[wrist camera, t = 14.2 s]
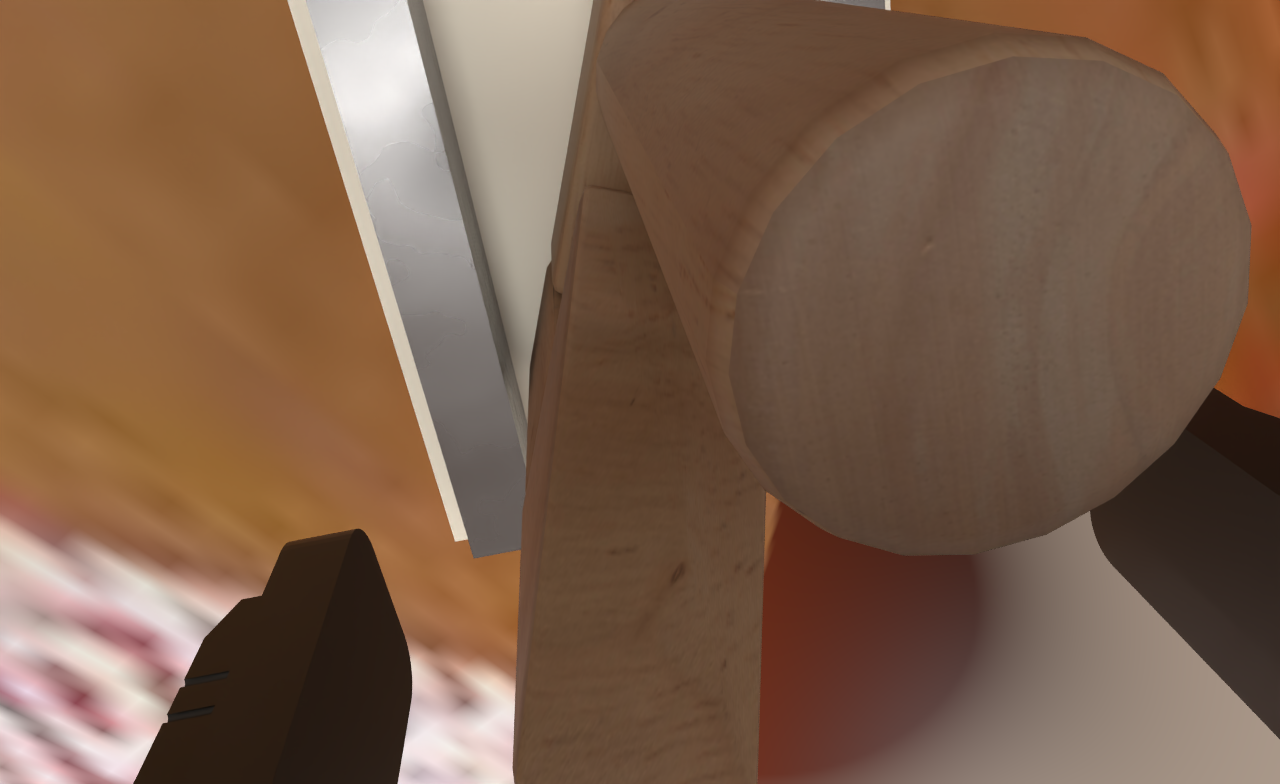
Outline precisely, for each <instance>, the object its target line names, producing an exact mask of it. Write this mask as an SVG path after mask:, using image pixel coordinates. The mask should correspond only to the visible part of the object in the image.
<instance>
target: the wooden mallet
mask: <svg viewBox="0 0 1280 784" xmlns="http://www.w3.org/2000/svg"><path fill="white" fill-rule="evenodd" d="M1250 244H1251V223H1250V220H1249V216H1248V213H1247V210H1246V207H1245V204H1244V201H1243V198H1242V195H1241V191H1240V188H1239V185H1238V182H1237V179H1236V176H1235V173H1234V170H1233V166H1232V163H1231V160H1230V157H1229V154H1228V152H1227V150H1226V149H1225V147H1224V146H1223V144H1222V143H1221V141H1220V140H1219V138H1218V137H1217V135H1216V134H1215V132H1214V131H1213V130H1212V129H1211V128H1210V127H1209V126H1208V124H1207V123H1206V122H1205V121H1204V120H1203V119H1202V118H1201V116H1200V115H1199V114H1198V113H1197V112H1196V111H1195V110H1194V108H1193V107H1192V106H1191V105H1190V104H1189V103H1188V102H1187V100H1186V99H1185V98H1184V97H1183V96H1182V95H1181V94H1180V92H1179V91H1178V90H1177V89H1176V88H1175V87H1174V85H1173V84H1172V83H1171V82H1170V81H1169V80H1168V79H1167V77H1166V76H1165V75H1164V74H1163V73H1161V72H1159V71H1157V70H1155V69H1152V68H1150V67H1148V66H1146V65H1144V64H1142V63H1140V62H1137V61H1135V60H1133V59H1131V58H1129V57H1127V56H1125V55H1122V54H1120V53H1118V52H1116V51H1114V50H1112V49H1110V48H1107V47H1105V46H1103V45H1101V44H1099V43H1097V42H1095V41H1092V40H1090V39H1088V38H1086V37H1079V36H1071V35H1064V34H1057V33H1050V32H1043V31H1035V30H1028V29H1021V28H1014V27H1007V26H999V25H992V24H985V23H978V22H971V21H963V20H956V19H949V18H942V17H935V16H927V15H920V14H913V13H906V12H899V11H891V10H884V9H877V8H870V7H863V6H855V5H848V4H841V3H834V2H827V1H820V0H593V5H592V10H591V16H590V22H589V28H588V33H587V39H586V45H585V51H584V56H583V62H582V68H581V74H580V79H579V85H578V91H577V97H576V102H575V108H574V114H573V120H572V125H571V131H570V137H569V143H568V148H567V154H566V160H565V166H564V171H563V177H562V183H561V189H560V194H559V200H558V206H557V212H556V218H555V223H554V229H553V235H552V241H551V262H550V263H549V265H548V266H547V269H546V275H545V281H544V286H543V292H542V298H541V304H540V309H539V315H538V321H537V327H536V332H535V338H534V344H533V350H532V355H531V361H530V369H529V398H528V427H527V455H526V484H525V492H526V494H525V500H524V505H523V511H522V535H521V561H520V588H519V614H518V640H517V667H516V693H515V719H514V746H513V775H514V783H515V784H757V776H758V744H759V710H760V676H761V643H762V609H763V575H764V541H765V508H766V491H767V492H768V493H770V494H771V495H773V496H774V497H776V498H777V499H778V500H780V501H781V502H783V503H784V504H786V505H787V506H789V507H790V508H792V509H793V510H795V511H796V512H798V513H799V514H800V515H802V516H803V517H805V518H806V519H808V520H809V521H811V522H812V523H814V524H815V525H816V526H818V527H820V528H821V529H823V530H825V531H827V532H829V533H831V534H833V535H835V536H837V537H840V538H843V539H847V540H851V541H854V542H858V543H861V544H865V545H868V546H872V547H875V548H879V549H883V550H886V551H890V552H893V553H897V554H900V555H965V554H978V553H981V552H985V551H989V550H992V549H996V548H1000V547H1003V546H1007V545H1010V544H1014V543H1017V542H1021V541H1025V540H1028V539H1032V538H1036V537H1039V536H1043V535H1047V534H1048V533H1050V532H1052V531H1054V530H1056V529H1057V528H1059V527H1061V526H1063V525H1065V524H1066V523H1068V522H1070V521H1072V520H1074V519H1076V518H1077V517H1079V516H1080V515H1083V514H1085V513H1087V512H1088V511H1090V510H1092V509H1094V508H1096V507H1098V506H1099V505H1101V504H1103V503H1105V502H1107V501H1108V500H1110V499H1112V498H1114V497H1115V496H1116V495H1118V494H1119V493H1120V492H1121V491H1122V490H1123V489H1124V488H1125V487H1126V486H1128V485H1129V484H1130V483H1131V482H1132V481H1133V480H1134V479H1135V478H1137V477H1138V476H1139V475H1140V474H1141V473H1142V472H1143V471H1144V470H1146V469H1147V468H1148V467H1149V466H1150V465H1151V464H1152V463H1153V462H1155V461H1156V460H1157V459H1158V458H1159V457H1160V456H1161V455H1162V454H1164V453H1165V452H1166V451H1167V450H1168V449H1169V448H1170V447H1171V446H1172V445H1174V444H1175V442H1176V441H1177V439H1178V438H1179V436H1180V435H1181V433H1182V432H1183V431H1184V429H1185V428H1186V426H1187V425H1188V423H1189V422H1190V421H1191V419H1192V418H1193V416H1194V415H1195V413H1196V412H1197V411H1198V409H1199V408H1200V406H1201V405H1202V403H1203V402H1204V401H1205V399H1206V398H1207V396H1208V395H1209V393H1210V392H1211V390H1212V389H1213V388H1214V386H1215V385H1216V383H1217V382H1218V380H1219V379H1220V377H1221V374H1222V372H1223V369H1224V366H1225V364H1226V361H1227V358H1228V355H1229V353H1230V350H1231V347H1232V344H1233V342H1234V339H1235V336H1236V333H1237V331H1238V328H1239V325H1240V323H1241V320H1242V317H1243V314H1244V312H1245V309H1246V306H1247V303H1248V285H1249V265H1250Z"/></svg>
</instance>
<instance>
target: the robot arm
mask: <svg viewBox="0 0 1280 784" xmlns="http://www.w3.org/2000/svg"><path fill="white" fill-rule="evenodd" d="M1090 513H1091V521H1092V526H1093V530H1094V533H1095V536H1096V539H1097V541H1098V544H1099V546H1100V548H1101V550H1102V551H1103V553H1104V555H1105V556H1106V558H1107V559H1108V560H1109V562H1110V563H1111V564H1112V565H1113V566H1114V567H1115V568H1116V569H1117V570H1118V572H1119V573H1121V575H1122V576H1123V577H1124V578H1125V579H1126V580H1127V581H1128V582H1129V583H1130V584H1131V585H1132V586H1133V587H1134V588H1135V589H1136V590H1137V591H1138V592H1139V593H1140V594H1141V595H1142V596H1143V597H1144V599H1145V600H1147V602H1148V603H1149V604H1150V605H1151V606H1152V607H1153V608H1154V609H1155V610H1156V611H1157V612H1158V613H1159V614H1160V615H1161V616H1162V617H1163V618H1164V619H1165V620H1166V621H1167V622H1168V623H1169V625H1170V626H1171V627H1172V628H1173V629H1174V630H1176V632H1177V633H1178V634H1179V635H1180V636H1181V637H1182V638H1183V639H1184V640H1185V641H1186V642H1187V643H1188V644H1189V645H1190V646H1191V647H1192V648H1193V650H1195V652H1196V653H1197V654H1198V655H1199V656H1200V657H1201V658H1202V659H1203V660H1204V661H1205V662H1206V663H1207V664H1208V665H1209V666H1210V667H1211V668H1212V669H1213V670H1214V671H1215V672H1216V673H1217V674H1218V675H1219V677H1221V679H1222V680H1223V681H1224V682H1225V683H1226V684H1227V685H1228V686H1229V687H1230V688H1231V689H1232V690H1233V691H1234V692H1235V693H1236V694H1237V695H1238V696H1239V697H1240V698H1241V699H1242V700H1243V701H1244V703H1246V705H1247V706H1249V708H1250V709H1251V710H1252V711H1253V712H1254V713H1255V714H1256V715H1257V716H1258V717H1259V718H1260V719H1261V720H1262V721H1263V722H1264V723H1265V724H1266V725H1267V726H1268V727H1269V729H1270V730H1271V731H1273V733H1274V734H1275V735H1276V736H1277V737H1278V738H1279V739H1280V418H1277V417H1274V416H1271V415H1268V414H1265V413H1262V412H1259V411H1256V410H1253V409H1250V408H1247V407H1244V406H1242V405H1240V404H1239V403H1237V402H1236V401H1234V400H1232V399H1231V398H1229V397H1228V396H1226V395H1224V394H1223V393H1221V392H1220V391H1218V390H1216V389H1215V388H1213V389H1212V390H1211V392H1210V393H1209V395H1208V396H1207V398H1206V399H1205V401H1204V402H1203V403H1202V405H1201V406H1200V408H1199V409H1198V411H1197V412H1196V413H1195V415H1194V416H1193V418H1192V419H1191V421H1190V422H1189V423H1188V425H1187V426H1186V428H1185V429H1184V431H1183V432H1182V433H1181V435H1180V436H1179V438H1178V439H1177V441H1176V442H1175V444H1174V445H1172V446H1171V447H1170V448H1169V449H1168V450H1167V451H1166V452H1165V453H1164V454H1162V455H1161V456H1160V457H1159V458H1158V459H1157V460H1156V461H1155V462H1153V463H1152V464H1151V465H1150V466H1149V467H1148V468H1147V469H1146V470H1144V471H1143V472H1142V473H1141V474H1140V475H1139V476H1138V477H1137V478H1135V479H1134V480H1133V481H1132V482H1131V483H1130V484H1129V485H1128V486H1126V487H1125V488H1124V489H1123V490H1122V491H1121V492H1120V493H1119V494H1118V495H1116V496H1115V497H1114V498H1112V499H1110V500H1108V501H1107V502H1105V503H1103V504H1101V505H1099V506H1098V507H1096V508H1094V509H1092V510H1090ZM184 680H185V687H181V688H180V689H179V691H178V693H177V695H176V697H175V699H174V701H173V704H172V706H171V708H170V710H169V712H168V714H167V715H168V723H163V724H162V726H161V728H160V730H159V732H158V734H157V736H156V738H155V740H154V742H153V744H152V747H151V749H150V751H149V753H148V755H147V757H146V759H145V761H144V763H143V765H142V767H141V769H140V771H139V773H138V775H137V777H136V779H135V781H134V783H133V784H397V783H398V777H399V771H400V765H401V759H402V753H403V747H404V741H405V735H406V729H407V723H408V717H409V711H410V705H411V698H412V671H411V662H410V656H409V650H408V646H407V642H406V639H405V636H404V633H403V630H402V628H401V625H400V622H399V619H398V616H397V614H396V611H395V608H394V605H393V602H392V600H391V597H390V594H389V591H388V588H387V586H386V583H385V580H384V577H383V574H382V572H381V569H380V566H379V563H378V561H377V558H376V555H375V552H374V549H373V547H372V544H371V542H370V540H369V538H368V536H367V535H366V533H365V532H364V531H363V530H361V529H354V530H348V531H343V532H338V533H333V534H328V535H322V536H317V537H312V538H307V539H302V540H296V541H291V542H288V543H286V544H285V546H284V547H283V549H282V550H281V553H280V555H279V557H278V560H277V562H276V564H275V566H274V569H273V571H272V573H271V576H270V578H269V580H268V583H267V585H266V587H265V590H264V592H263V594H262V596H258V597H253V598H248V599H242V600H241V601H240V602H239V603H238V604H237V605H236V606H235V607H234V608H233V609H232V610H231V611H230V612H229V613H228V614H227V615H226V616H225V617H224V618H223V619H222V620H221V621H220V623H219V624H218V625H217V626H216V627H215V628H214V629H213V630H212V631H211V632H210V633H209V634H208V635H207V636H206V637H205V638H204V640H203V642H202V644H201V646H200V648H199V650H198V652H197V654H196V656H195V658H194V660H193V663H192V665H191V667H190V669H189V671H188V673H187V675H186V677H185V679H184Z"/></svg>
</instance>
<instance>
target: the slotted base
mask: <svg viewBox="0 0 1280 784" xmlns="http://www.w3.org/2000/svg"><path fill="white" fill-rule="evenodd" d="M287 1H288V4H289V7H290V10H291V14H292V17H293V20H294V23H295V26H296V30H297V33H298V36H299V39H300V43H301V46H302V49H303V52H304V56H305V59H306V62H307V65H308V68H309V72H310V75H311V78H312V81H313V85H314V88H315V91H316V94H317V97H318V101H319V104H320V107H321V110H322V114H323V117H324V120H325V123H326V126H327V130H328V133H329V136H330V139H331V143H332V146H333V149H334V152H335V156H336V159H337V162H338V165H339V168H340V172H341V175H342V178H343V181H344V185H345V188H346V191H347V194H348V197H349V201H350V204H351V207H352V210H353V214H354V217H355V220H356V223H357V226H358V230H359V233H360V236H361V239H362V243H363V246H364V249H365V252H366V256H367V259H368V262H369V265H370V268H371V272H372V275H373V278H374V281H375V285H376V288H377V291H378V294H379V297H380V301H381V304H382V307H383V310H384V314H385V317H386V320H387V323H388V326H389V330H390V333H391V336H392V339H393V343H394V346H395V349H396V352H397V356H398V359H399V362H400V365H401V368H402V372H403V375H404V378H405V381H406V385H407V388H408V391H409V394H410V397H411V401H412V404H413V407H414V410H415V414H416V417H417V420H418V423H419V426H420V430H421V433H422V436H423V439H424V443H425V446H426V449H427V452H428V456H429V459H430V462H431V465H432V468H433V472H434V475H435V478H436V481H437V485H438V488H439V491H440V494H441V497H442V501H443V504H444V507H445V510H446V514H447V517H448V520H449V523H450V526H451V530H452V533H453V536H454V539H455V541H461V540H466V539H468V541H469V544H470V547H471V551H472V554H473V557H474V558H479V557H484V556H489V555H494V554H500V553H505V552H510V551H515V550H521V535H522V511H523V505H524V500H525V494H526V492H525V484H526V455H527V427H528V398H529V369H530V361H531V355H532V350H533V344H534V338H535V332H536V327H537V321H538V315H539V309H540V304H541V298H542V292H543V286H544V281H545V275H546V269H547V266H548V265H549V263H550V262H551V241H552V235H553V229H554V223H555V218H556V212H557V206H558V200H559V194H560V189H561V183H562V177H563V171H564V166H565V160H566V154H567V148H568V143H569V137H570V131H571V125H572V120H573V114H574V108H575V102H576V97H577V91H578V85H579V79H580V74H581V68H582V62H583V56H584V51H585V45H586V39H587V33H588V28H589V22H590V16H591V10H592V5H593V0H287ZM820 1H827V2H834V3H841V4H848V5H855V6H863V7H870V8H877V9H884V10H890V0H820Z"/></svg>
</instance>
